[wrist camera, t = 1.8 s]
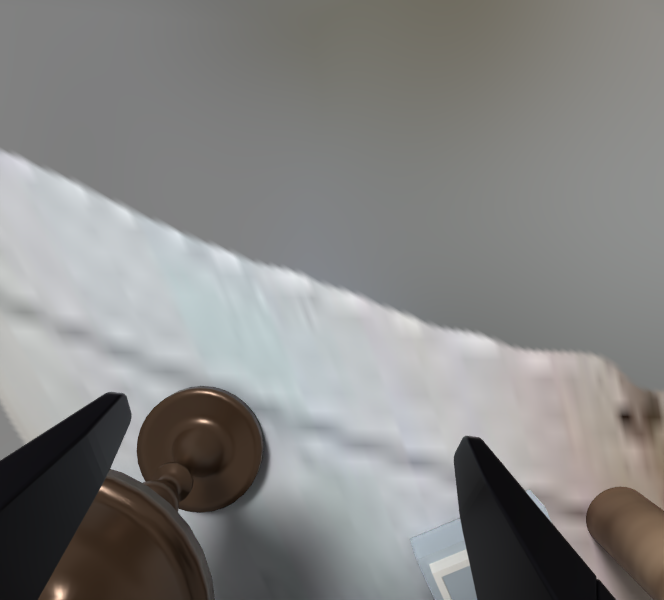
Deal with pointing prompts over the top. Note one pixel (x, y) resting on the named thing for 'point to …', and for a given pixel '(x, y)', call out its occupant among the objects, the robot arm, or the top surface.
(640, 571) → the walnut pillar
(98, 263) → the top surface
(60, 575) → the candlestick
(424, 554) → the base plate
